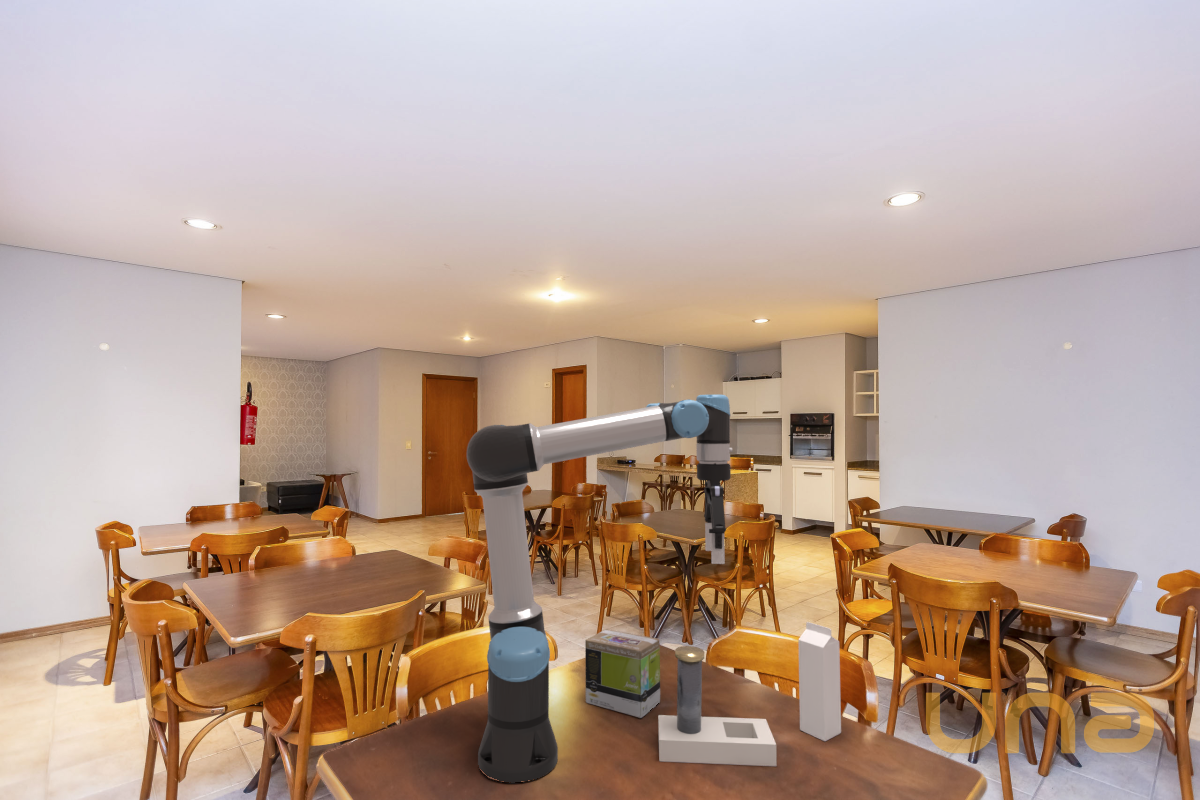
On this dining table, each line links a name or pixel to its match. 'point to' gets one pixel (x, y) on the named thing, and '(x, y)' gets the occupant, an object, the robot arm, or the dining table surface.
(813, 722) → the milk
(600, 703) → the tea box
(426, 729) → the dining table surface
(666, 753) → the housing block
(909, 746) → the dining table surface
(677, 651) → the grey capped cylinder
